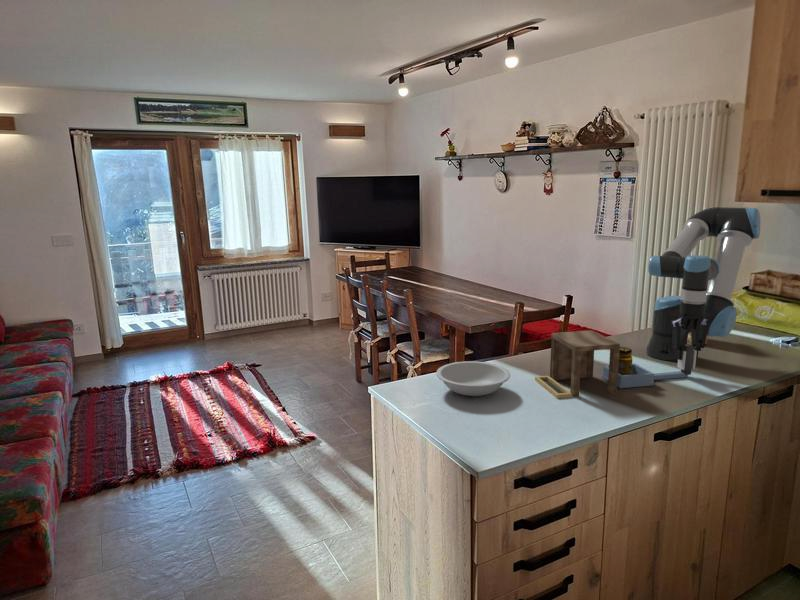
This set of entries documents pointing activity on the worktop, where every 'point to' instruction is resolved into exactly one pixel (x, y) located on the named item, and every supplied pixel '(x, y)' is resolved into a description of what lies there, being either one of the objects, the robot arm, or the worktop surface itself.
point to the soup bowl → (473, 377)
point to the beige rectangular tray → (553, 387)
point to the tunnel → (581, 357)
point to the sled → (646, 377)
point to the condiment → (624, 362)
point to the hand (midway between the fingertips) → (686, 367)
